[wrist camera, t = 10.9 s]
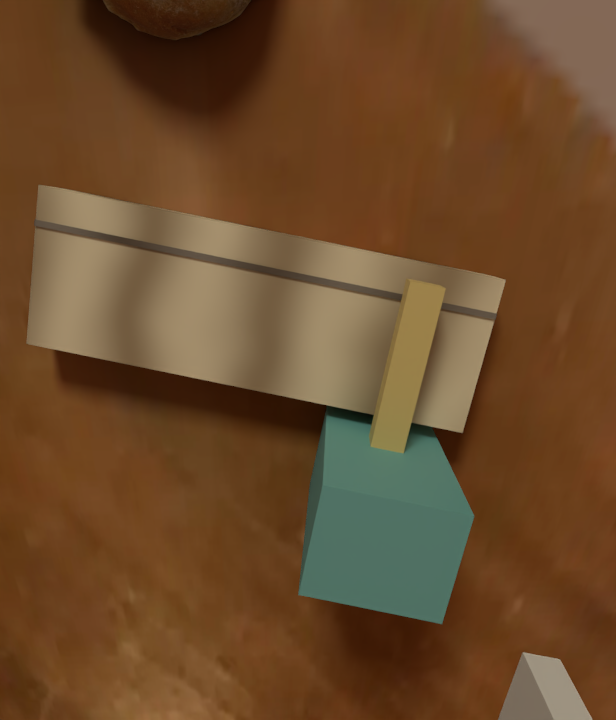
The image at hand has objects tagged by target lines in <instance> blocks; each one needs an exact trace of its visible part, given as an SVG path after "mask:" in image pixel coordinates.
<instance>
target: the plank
mask: <svg viewBox="0 0 616 720" xmlns="http://www.w3.org/2000/svg"><path fill="white" fill-rule="evenodd" d="M34 226H35V238H34V252H33V265H32V278H31V292H30V305H29V318H28V331H27V344H30V345H35V346H40V347H45V348H50V349H55V350H60V351H64V352H69V353H74V354H79V355H84V356H89V357H94V358H99V359H104V360H108V361H113V362H118V363H123V364H128V365H133V366H138V367H143V368H147V369H152V370H157V371H162V372H167V373H172V374H177V375H182V376H187V377H191V378H196V379H201V380H206V381H211V382H216V383H221V384H226V385H230V386H235V387H240V388H245V389H250V390H255V391H260V392H265V393H269V394H274V395H279V396H284V397H289V398H294V399H299V400H304V401H309V402H313V403H318V404H323V405H328V406H333V407H338V408H343V409H348V410H352V411H357V412H362V413H367V414H372V415H374V412H375V408H376V404H377V400H378V396H379V391H380V387H381V383H382V379H383V375H384V371H385V366H386V362H387V358H388V354H389V350H390V345H391V341H392V337H393V333H394V329H395V324H396V320H397V316H398V312H399V308H400V303H401V299H402V295H403V291H404V287H405V282H406V278H407V279H412V280H417V281H422V282H427V283H432V284H436V285H441V286H442V287H444V288H446V290H445V294H444V298H443V302H442V305H441V309H440V313H439V317H438V321H437V325H436V329H435V333H434V337H433V341H432V344H431V348H430V352H429V356H428V360H427V364H426V368H425V372H424V376H423V379H422V383H421V387H420V391H419V395H418V399H417V403H416V407H415V411H414V415H413V418H412V422H411V423H416V424H421V425H426V426H431V427H435V428H440V429H445V430H450V431H455V432H460V433H463V430H464V426H465V423H466V419H467V416H468V412H469V408H470V405H471V401H472V398H473V394H474V391H475V387H476V384H477V380H478V377H479V373H480V370H481V366H482V363H483V359H484V356H485V352H486V348H487V345H488V341H489V338H490V334H491V331H492V327H493V324H494V320H495V319H496V315H497V310H498V306H499V303H500V299H501V296H502V292H503V288H504V285H505V281H506V280H504V279H501V278H497V277H494V276H490V275H486V274H481V273H476V272H471V271H466V270H461V269H456V268H451V267H446V266H441V265H436V264H432V263H427V262H422V261H417V260H412V259H407V258H402V257H397V256H392V255H387V254H382V253H378V252H373V251H368V250H363V249H358V248H353V247H348V246H343V245H338V244H333V243H328V242H324V241H319V240H314V239H309V238H304V237H299V236H294V235H289V234H284V233H279V232H275V231H270V230H265V229H260V228H255V227H250V226H245V225H240V224H235V223H230V222H225V221H221V220H216V219H211V218H206V217H201V216H196V215H191V214H186V213H181V212H176V211H171V210H167V209H162V208H157V207H152V206H147V205H142V204H137V203H132V202H127V201H122V200H117V199H113V198H108V197H103V196H98V195H93V194H88V193H83V192H78V191H73V190H68V189H64V188H57V187H50V186H43V185H38V199H37V212H36V219H35V224H34Z"/></svg>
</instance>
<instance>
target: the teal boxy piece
mask: <svg viewBox="0 0 616 720" xmlns="http://www.w3.org/2000/svg"><path fill="white" fill-rule="evenodd" d="M445 290H446V288H444V287H442V286H441V285H436V284H432V283H427V282H422V281H417V280H412V279H407V278H406V282H405V287H404V291H403V295H402V299H401V303H400V308H399V312H398V316H397V320H396V324H395V329H394V333H393V337H392V341H391V345H390V350H389V354H388V358H387V362H386V366H385V371H384V375H383V379H382V383H381V387H380V391H379V396H378V400H377V404H376V408H375V412H374V415H372V414H367V413H362V412H357V411H352V410H348V409H343V408H338V407H333V406H328V405H327V408H326V412H325V417H324V422H323V426H322V431H321V435H320V440H319V445H318V449H317V454H316V459H315V463H314V468H313V473H312V477H311V482H310V489H309V498H308V508H307V517H306V527H305V536H304V546H303V556H302V565H301V575H300V584H299V594H298V595H302V596H307V597H312V598H317V599H322V600H327V601H332V602H337V603H341V604H346V605H351V606H356V607H361V608H366V609H371V610H376V611H380V612H385V613H390V614H395V615H400V616H405V617H410V618H415V619H420V620H424V621H429V622H434V623H439V624H442V622H443V619H444V616H445V612H446V609H447V606H448V602H449V599H450V596H451V592H452V589H453V585H454V582H455V579H456V575H457V572H458V569H459V565H460V562H461V559H462V555H463V552H464V549H465V545H466V542H467V539H468V535H469V532H470V529H471V525H472V522H473V519H474V515H473V512H472V510H471V508H470V506H469V504H468V502H467V500H466V498H465V496H464V494H463V492H462V489H461V487H460V485H459V483H458V481H457V479H456V477H455V475H454V473H453V471H452V468H451V466H450V464H449V462H448V460H447V458H446V456H445V454H444V452H443V450H442V447H441V445H440V443H439V441H438V439H437V437H436V435H435V433H434V431H433V429H432V427H431V426H426V425H421V424H416V423H411V422H412V418H413V415H414V411H415V407H416V403H417V399H418V395H419V391H420V387H421V383H422V379H423V376H424V372H425V368H426V364H427V360H428V356H429V352H430V348H431V344H432V341H433V337H434V333H435V329H436V325H437V321H438V317H439V313H440V309H441V305H442V302H443V298H444V294H445Z"/></svg>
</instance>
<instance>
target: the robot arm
mask: <svg viewBox="0 0 616 720" xmlns="http://www.w3.org/2000/svg"><path fill="white" fill-rule="evenodd" d="M498 720H592V718H591V716H590V714H589V712H588V711H587V709H586V707H585V705H584V703H583V701H582V700H581V698H580V696H579V694H578V692H577V690H576V688H575V687H574V685H573V683H572V681H571V679H570V677H569V675H568V674H567V672H566V670H565V668H564V666H563V664H562V662H561V661H560V659H555V658H550V657H545V656H539V655H534V654H529V653H522V656H521V659H520V661H519V664H518V667H517V669H516V672H515V675H514V678H513V680H512V683H511V686H510V689H509V691H508V694H507V697H506V699H505V702H504V705H503V708H502V710H501V713H500V716H499V719H498Z"/></svg>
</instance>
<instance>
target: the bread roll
mask: <svg viewBox="0 0 616 720" xmlns="http://www.w3.org/2000/svg"><path fill="white" fill-rule="evenodd" d="M250 1H251V0H103V2H104V4H105V6H106V7H107V9H108V11H110V12H112V13H114V14H116V15H118V16H119V17H120V18H121V19H123V20H125V21H127V22H129V23H130V24H132V25H133V26H134V27H135V28H136V29H137V30H138V31H142V32H145V33H147V34H150V35H153V36H157V37H160V38H164V39H171V40H178V39H180V38H188V37H192V36H194V35H201V34H202V33H204V32H206V31H208V30H210V29H212V28H216V27H219V26H222V25H224V24H226V23H228V22H230V21H232V20H233V19H235V18H237V17H238V16H240V15H241V13H242V12H243V11H244V10H245V8H246V7H247V5H248V4H249V3H250Z"/></svg>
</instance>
